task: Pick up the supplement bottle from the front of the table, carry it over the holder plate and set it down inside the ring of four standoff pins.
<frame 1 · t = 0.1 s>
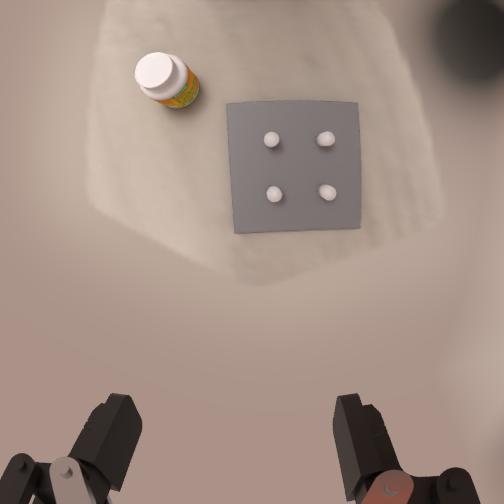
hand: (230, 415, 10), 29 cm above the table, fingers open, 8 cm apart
supplement bottle: (179, 89, 32), on the table
pin holder: (296, 165, 35), on the table
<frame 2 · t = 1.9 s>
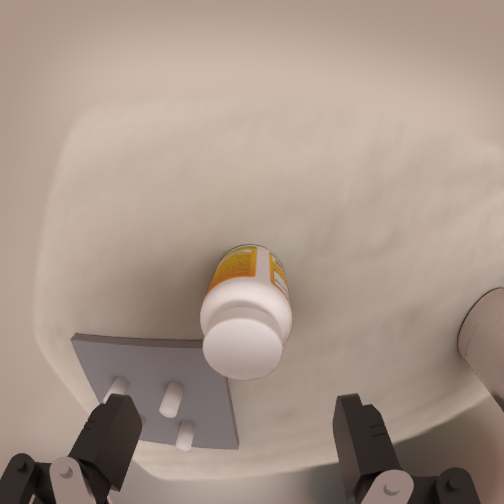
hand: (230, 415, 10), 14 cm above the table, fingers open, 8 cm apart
supplement bottle: (250, 275, 23), on the table
pin holder: (159, 397, 28), on the table
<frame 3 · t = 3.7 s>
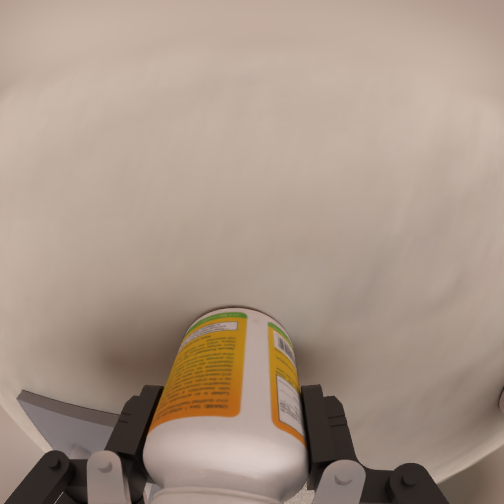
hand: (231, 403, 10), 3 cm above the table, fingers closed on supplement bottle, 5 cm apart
supplement bottle: (237, 349, 14), on the table, touching gripper
pin holder: (129, 466, 19), on the table
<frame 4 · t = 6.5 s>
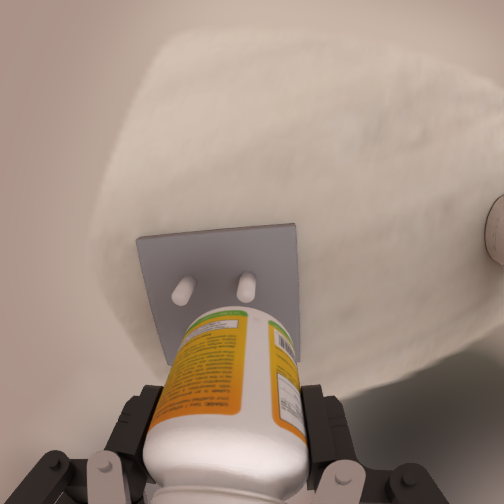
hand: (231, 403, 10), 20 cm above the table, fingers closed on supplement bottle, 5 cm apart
supplement bottle: (238, 348, 14), point 16 cm above the table, touching gripper
pin holder: (223, 302, 31), on the table
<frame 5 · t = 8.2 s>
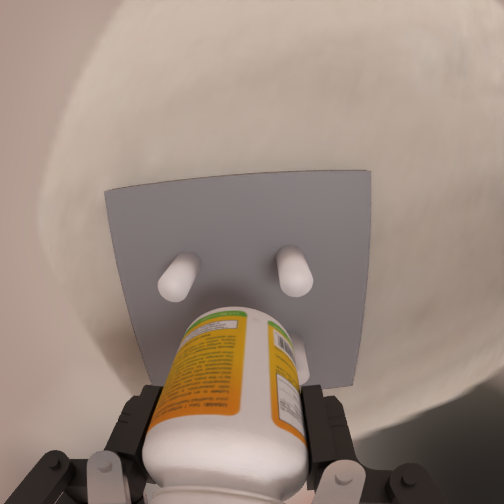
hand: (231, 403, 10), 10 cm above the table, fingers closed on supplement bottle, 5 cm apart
supplement bottle: (237, 348, 14), point 6 cm above the table, touching gripper
pin holder: (243, 297, 19), on the table
when the fingers open (6 cm above the table, at t = 9.4 s): supplement bottle drops 1 cm, resting on pin holder.
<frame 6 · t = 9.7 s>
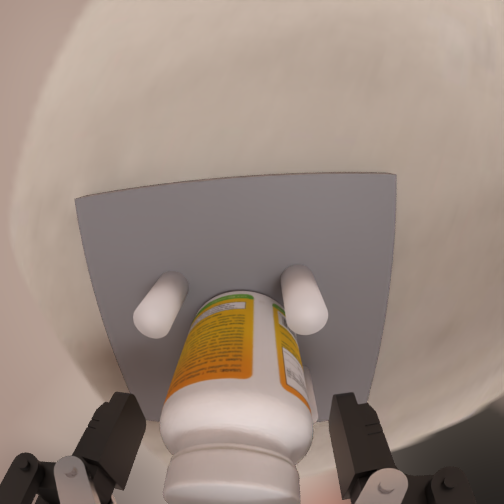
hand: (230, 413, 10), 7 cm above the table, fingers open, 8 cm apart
supplement bottle: (243, 331, 15), point 1 cm above the table, touching pin holder
pin holder: (240, 323, 16), on the table
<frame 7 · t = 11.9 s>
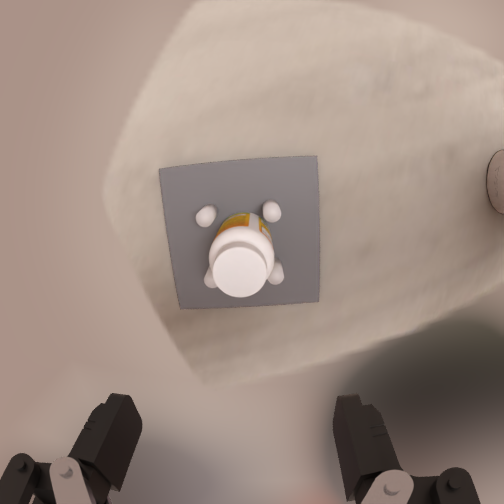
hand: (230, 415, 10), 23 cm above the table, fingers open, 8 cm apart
supplement bottle: (244, 236, 30), point 1 cm above the table, touching pin holder
pin holder: (243, 235, 32), on the table
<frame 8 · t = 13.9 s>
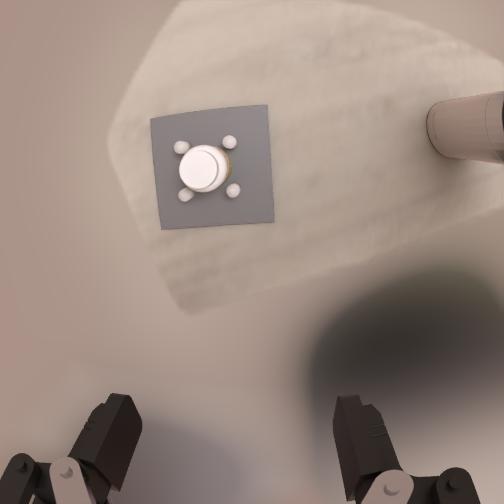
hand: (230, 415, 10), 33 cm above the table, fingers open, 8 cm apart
supplement bottle: (212, 166, 38), point 1 cm above the table, touching pin holder
pin holder: (212, 167, 39), on the table
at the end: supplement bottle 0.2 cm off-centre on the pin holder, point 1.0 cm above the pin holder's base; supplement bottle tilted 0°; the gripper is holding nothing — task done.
